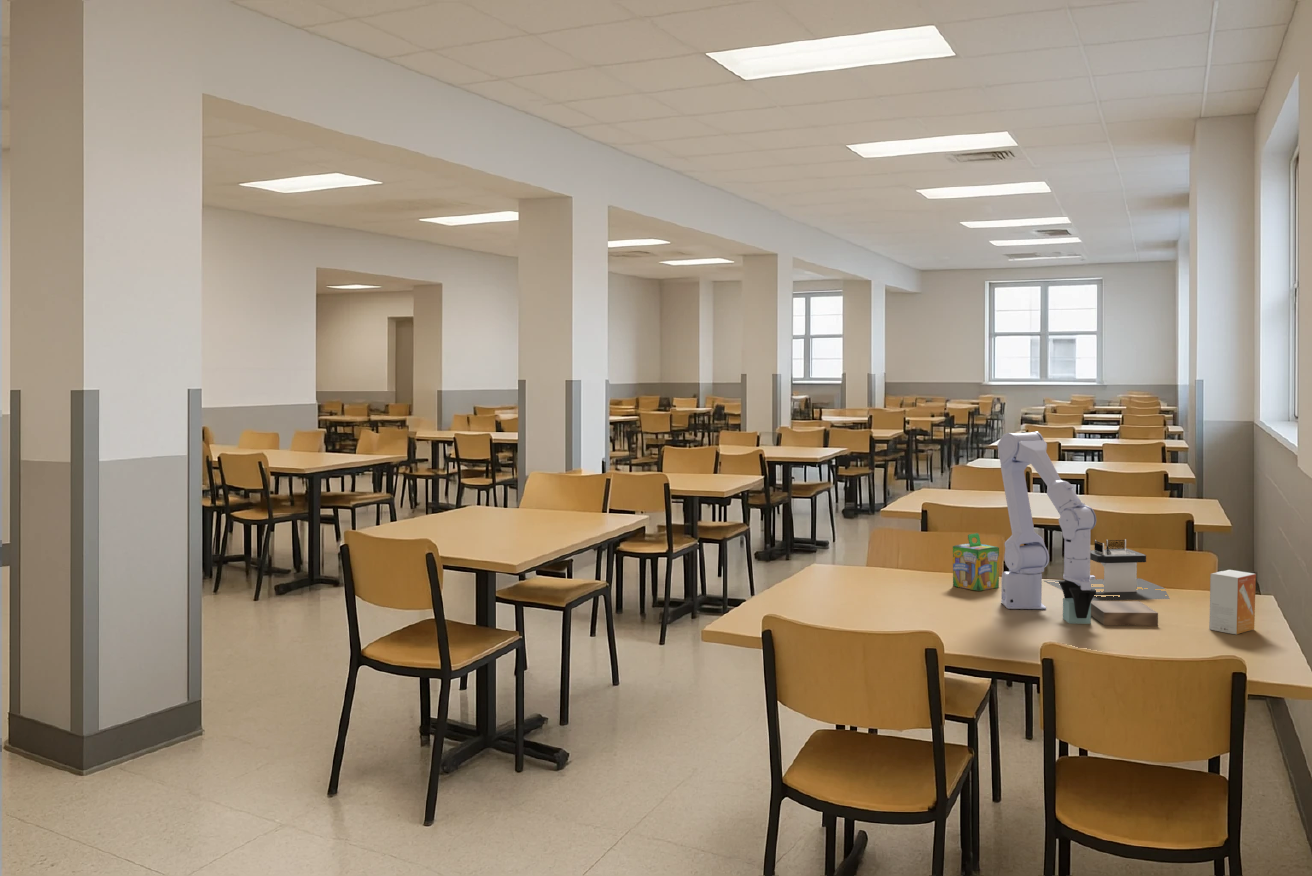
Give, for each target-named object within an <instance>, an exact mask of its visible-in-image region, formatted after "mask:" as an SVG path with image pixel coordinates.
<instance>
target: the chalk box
mask: <svg viewBox="0 0 1312 876" xmlns="http://www.w3.org/2000/svg"><path fill="white" fill-rule="evenodd" d="M973 538H974V539H976V542H973ZM967 540H968V543H962V544H956V545H952V587H953V586H956V587H955V588H959V587H960V589H967V590H972V591H977V592H982V591H987V590H993V589H998V588H1000V582H999V581H1000V577H999V576H1000V547H998V546H993V545H989V544H982V542H981V537H980V534H979V533H978V532H975V533H970V534H969V533H968V534H967Z"/></svg>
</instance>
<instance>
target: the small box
mask: <svg viewBox="0 0 1312 876" xmlns="http://www.w3.org/2000/svg"><path fill="white" fill-rule="evenodd" d="M1256 578H1257V573H1254V572H1247V571H1241V570H1235V569H1234V570H1233V569H1227V570H1221V571H1217V572H1213V573H1210V578H1209V580H1210V581H1209V583H1210V585H1209V587H1210V588H1209V622H1208V623H1209V628H1208V629H1209V630H1211V631H1216V632H1221V633H1226V634H1231V635H1240V634H1242V633H1247V632H1250V631H1255V622H1256V620H1255V619H1256V618H1255V617H1256V615H1255V613H1256V587H1257V586H1256V582H1257V579H1256Z"/></svg>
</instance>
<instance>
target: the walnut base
mask: <svg viewBox="0 0 1312 876" xmlns="http://www.w3.org/2000/svg"><path fill="white" fill-rule="evenodd" d="M1091 617H1093V618H1094V619H1095V620H1096V621H1098V622H1099V623H1100V624H1102V625H1104V626H1142V627H1143V626H1147V627H1148V626H1149V627H1151V626H1156V627H1157V626H1159V612H1157V611H1156V610H1155V609H1153V608H1151V607H1149V606H1148V605H1146V604H1145V603H1143V602H1141V601H1139V600H1138V601H1137V600H1103V601H1091Z"/></svg>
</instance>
